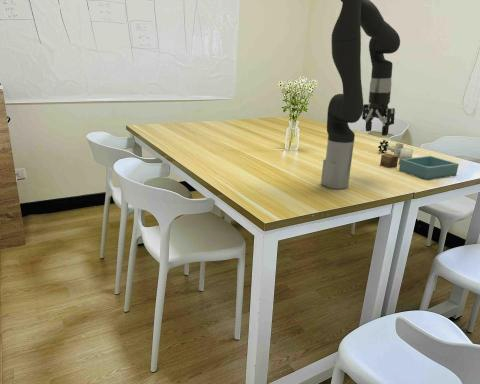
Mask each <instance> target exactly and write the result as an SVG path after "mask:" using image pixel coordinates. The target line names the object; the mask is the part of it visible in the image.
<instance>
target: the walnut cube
mask: <svg viewBox="0 0 480 384" xmlns="http://www.w3.org/2000/svg"><path fill="white" fill-rule="evenodd" d="M398 157H399V156H395V155H394V154H392V153H386V154H385V153H383V154H381V157H380V163H379V166H381V167H384V168H385V169H393V168H394V169H395V168H397V167H398V164H399V158H398Z"/></svg>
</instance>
